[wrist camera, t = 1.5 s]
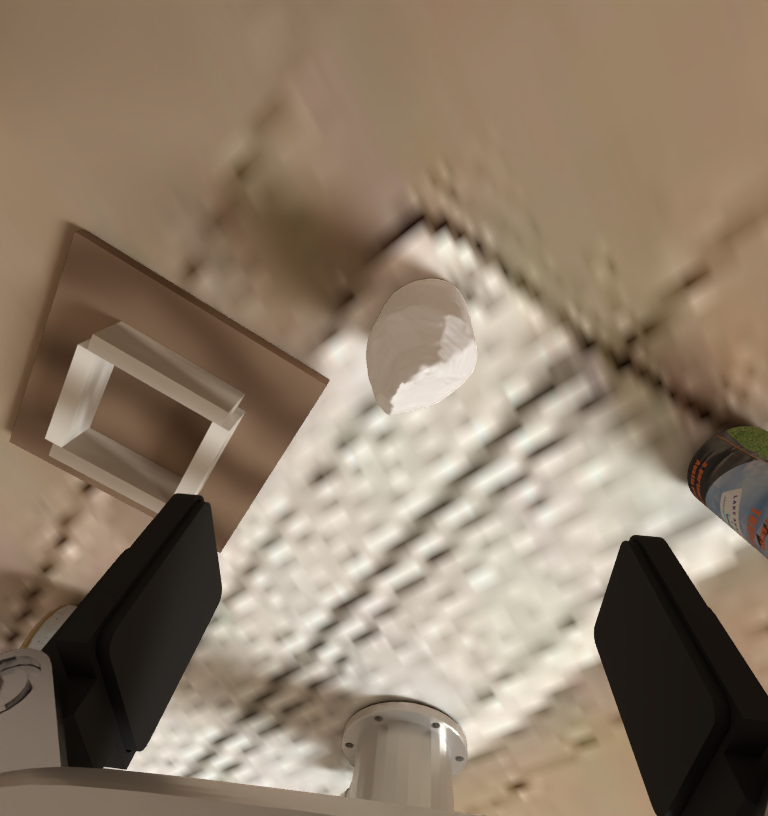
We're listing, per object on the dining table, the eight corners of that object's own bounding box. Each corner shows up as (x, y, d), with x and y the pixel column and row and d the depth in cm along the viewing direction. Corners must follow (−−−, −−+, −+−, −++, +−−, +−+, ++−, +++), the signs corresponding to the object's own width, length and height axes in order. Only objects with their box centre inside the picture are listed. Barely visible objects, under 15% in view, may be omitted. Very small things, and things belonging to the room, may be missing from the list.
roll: (420, 477, 22) (322, 402, 21) (425, 380, 33) (360, 327, 32) (517, 385, 20) (412, 296, 19) (488, 313, 31) (420, 254, 29)
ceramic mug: (66, 583, 44) (-2, 658, 38) (153, 612, 45) (101, 692, 38) (60, 652, 49) (-2, 730, 42) (138, 678, 50) (89, 760, 43)
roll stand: (224, 544, 41) (204, 580, 37) (19, 435, 38) (-25, 462, 34) (329, 380, 33) (317, 403, 30) (85, 230, 31) (38, 236, 27)
